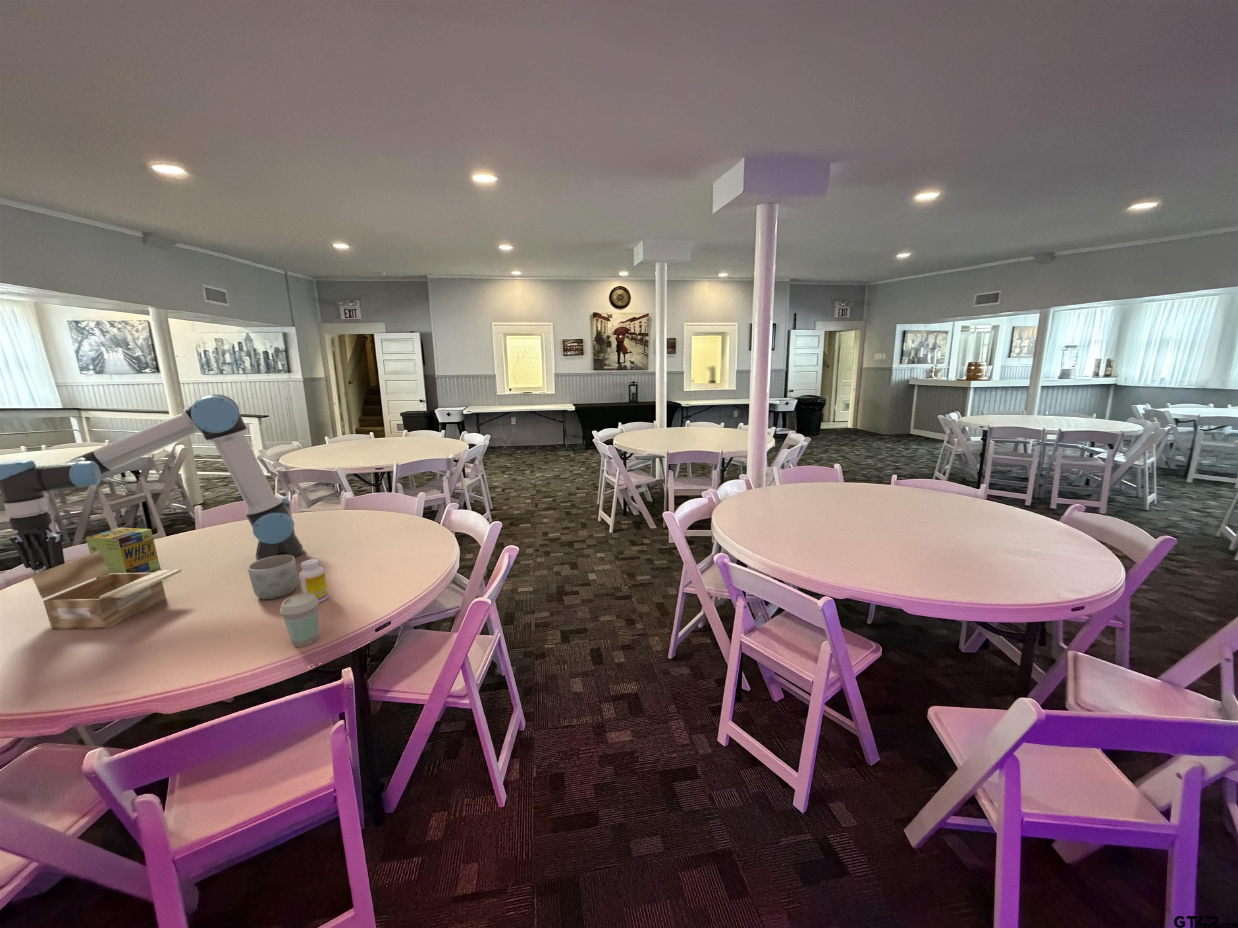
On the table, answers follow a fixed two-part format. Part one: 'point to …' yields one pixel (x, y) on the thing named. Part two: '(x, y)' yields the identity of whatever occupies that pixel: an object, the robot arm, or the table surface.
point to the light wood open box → (106, 600)
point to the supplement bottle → (313, 579)
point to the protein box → (125, 550)
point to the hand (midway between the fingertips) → (52, 588)
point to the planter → (273, 576)
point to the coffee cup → (301, 618)
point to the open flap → (69, 574)
